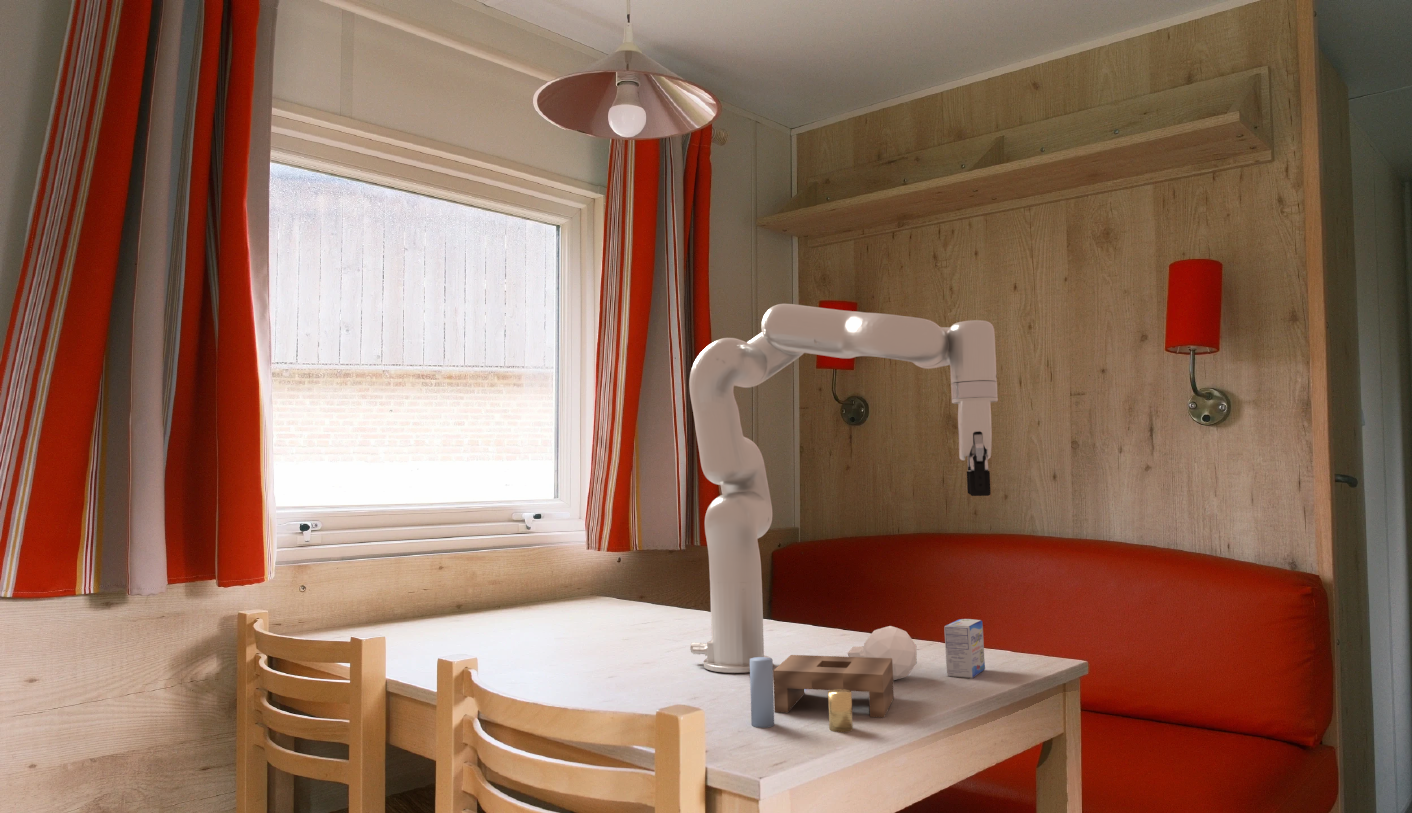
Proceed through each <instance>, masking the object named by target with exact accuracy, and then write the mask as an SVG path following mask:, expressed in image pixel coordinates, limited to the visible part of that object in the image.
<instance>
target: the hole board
mask: <svg viewBox="0 0 1412 813" xmlns="http://www.w3.org/2000/svg"><path fill="white" fill-rule="evenodd" d="M834 689H845V690H850V691H851V692H859V693H860V692H863V693H868V697H869V698H868V699H869V717H870V718H880V719H881V718H882V719H883V718H885V717H886V715H887V713H888V710H889V709H890V707H891V704H892V702H893V700H894V697H895V696H894V695H895V694H894V691H895V690H894V680H893V665H892V658H869V657H849V656H840V655H839V656H837V655H836V656H833V655H832V656H831V655H830V656H829V655H804V654H803V655H801V654H790V655H789V656H788V657H787V658H785V660H783V661H782V662H781V663H780V664H778V666H777V667H775V668H773V698H774V713H789V712H790V711H791V709H792V708H794V707H795V705H797V703H798V702H799V701H800V699H802V697H803V696H804V695H805V690H813V691H814V690H816V691H817V690H818V691H819V690H820V691H829V690H834Z"/></svg>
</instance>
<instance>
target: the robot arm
mask: <svg viewBox="0 0 1412 813" xmlns="http://www.w3.org/2000/svg"><path fill="white" fill-rule="evenodd" d="M760 327H761V332H760V333H759V334H756V335H755V336H754V337H753V338H751V339H750V340H747V341H746V340H745V341H744V340H742V339H739V338H736V337H723V338H720V339H717V340H714V341H713V342H711V343H709V344H708V345H707V346H706V347H705V348H704V349H702V351H700V352H699V354H698V355H697V356H696V358H695V360H694V362H693V364H692V367H691V370H690V372H689V381H688V382H689V388H688V389H689V395H690V402H691V408H692V412H693V413H692V414H693V420H694V426H695V433H696V434H695V435H696V441H697V446H698V447H697V448H698V452H699V460H700V466H701V470H702V472H703V475H704V477H705V478H706V479H707V480H708V481H709V482H711V483H712V484H714V485H718V486H720V488H721V495H718V496H717V497H716V498H714V499H713V500H712V501H711V503H710V504H709V505H708V506H707V510H706V511H705V512H706V513H705V516H704V534H705V538H706V539H705V540H706V545H707V554H708V567H709V591H710V592H709V593H710V595H709V596H710V630H711V635H710V636H711V640H709V641H707V642H706V643H704V642H703V643H702V642H691V644H690V647H689V648H690V649H689V650H690V653H691V654H693V655H704V656H705V657H706V658H705V659H704V660H703V667H704V669H706V670H708V671H712V672H716V673H725V674H727V673H728V674H743V673H744V674H745V673H750V659H751V658H755V657H769V656H767V655H765V649H764V648H765V645H764V644H765V643H764V641H765V640H764V614H763V613H764V611H763V610H764V609H763V608H764V607H763V606H764V605H763V580H762V562H761V554H760V553H761V552H760V547H759V542H758V539H760V538H762V537H763V536H764V535H766V533H767V532H768V530H769V529H770V527H771V526H772V522H773V506H772V500H771V498H772V497H771V493H770V487H769V484H768V483H769V482H768V476H767V472H766V471H767V469H766V466H765V461H764V457H763V454H762V452H761V450H760V448H759V447H758V445H757V444H756V443H755V442H754V441H753V440H751V439H749V437H745V436H744V433H743V428H742V424H741V417H740V411H739V410H740V409H739V406H738V403H737V401H736V397H735V394H734V390H735V388H734V387H740V388H744V389H745V388H753V387H757V386H759V385H760V384H762V383H764V382H765V381H767V380H769V379H770V378H771V377H773V376H775V375H776V374H777V373H778V372H780V371H781V370H783V369H784V368H786V367H788V366H789V365H790V364H792V363H793V362H795V361H796V360H797V359H799V358H800V357H801V356H803V355H804V354H811V355H818V356H825V357H829V358H830V357H831V358H839V359H854V358H856V357H873V358H875V357H877V358H882V359H883V358H884V359H889V360H899V361H903V362H910V363H913V364H914V365H915V366H916V367H919V368H922V369H926V370H927V369H936V368H942V367H947V366H950V367H949V369H950V388H951V404H954V405H956V404H957V405H958V406H957V407H958V409H957V427H958V428H957V429H958V430H957V431H958V452H959V453H958V454H959V460H961V461H965V460H966V457H967V471H966V485H967V494H968V495H970V496H972V497H981V496H983V497H984V496H985V497H986V496H991V492H992V491H991V473H990V472H991V471H990V470H989V463H988V462H989V461H988V460H989V459H990V458H992V457H991V456H992V441H993V440H992V436H993V435H992V432H993V431H992V430H993V429H992V411H991V408H992V407H991V404H992V403H997V402H998V400H999V399H998V382H997V377H998V376H997V358H996V357H997V355H996V337H995V336H996V335H995V328H994V325H993V324H992V323H991V322H989V321H987V320H980V319H979V320H977V319H976V320H975V319H972V320H964V321H959V322H958V321H957V322H955V323H953V324H952V325H951V326H950V327H949V326H948V327H945V326H944V327H943V326H939V324H937V323H936V322H935V321H932V320H930V319H926V318H921V317H916V316H915V317H913V316H904V315H899V314H892V313H889V314H888V313H880V312H879V313H878V312H864V311H854V310H853V311H852V310H843V309H835V308H826V307H818V306H809V305H803V304H794V303H778V304H776V305H775V304H774V305H773V306H771V307H769V309H767V310H766V312H765V313H764V315H763V317H762V320H761V326H760ZM769 658H771V657H769ZM773 661H774V660H773V659H772V665H774V663H773Z"/></svg>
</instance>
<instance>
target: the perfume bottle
mask: <svg viewBox="0 0 1412 813" xmlns="http://www.w3.org/2000/svg"><path fill="white" fill-rule="evenodd" d="M917 648H918V647H917V645H916V643H915V641H914V640H913V638H912V637H911V636H910V635H909V634H908V632H907V631H906V630H903V629H902V628H898V627H895V626H892V625H889V626H885V627H881V628H877V629H874V630H873V631H872V632H871V634H870V635H869V637H868V638H867V639H866V641H865V642H864V643H863V646H852V648H850V650H849V651H847V655H848V656H847V657H869V658H892V665H893V681H895V680H900V679H903V678H907V677H908V676H909V674H910V673H911V671H912V670H913V669H914V667H916V665H917V663H918V659H917V658H918V657H917V653H918V652H917V650H918V649H917Z"/></svg>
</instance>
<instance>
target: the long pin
mask: <svg viewBox="0 0 1412 813" xmlns="http://www.w3.org/2000/svg"><path fill="white" fill-rule="evenodd" d="M772 660H773V658H772V657H770V658H769V656H768V657H755V658H751V659H750V672H749V685H750V686H749V687H750V718H751V719H750V721H751V723H750V724H751V726H752V727H754V728H760V729H762V728H771V727H774V726H775V709H774V677H773V670H774V667H773V665H774V664H773V665H772Z"/></svg>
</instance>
